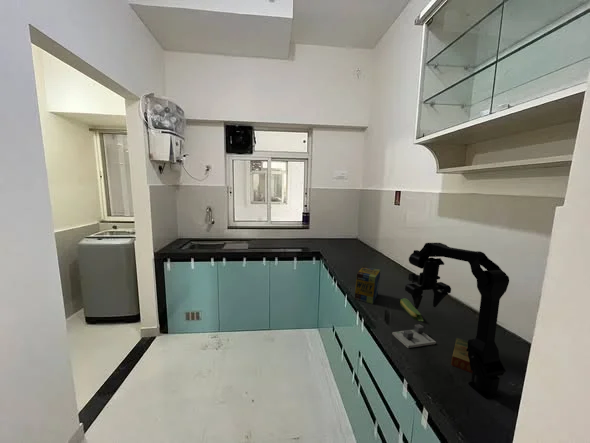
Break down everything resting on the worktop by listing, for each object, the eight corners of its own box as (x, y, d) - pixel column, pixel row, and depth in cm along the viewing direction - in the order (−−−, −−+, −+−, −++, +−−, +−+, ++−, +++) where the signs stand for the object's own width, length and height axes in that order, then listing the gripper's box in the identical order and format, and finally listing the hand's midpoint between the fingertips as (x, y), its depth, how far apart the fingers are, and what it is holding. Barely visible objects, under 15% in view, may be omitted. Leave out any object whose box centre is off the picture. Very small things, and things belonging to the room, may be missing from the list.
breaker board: (435, 343, 113) (435, 341, 113) (407, 348, 109) (408, 345, 109) (418, 330, 122) (418, 328, 122) (392, 334, 118) (392, 332, 118)
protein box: (354, 299, 152) (356, 273, 149) (360, 290, 165) (363, 266, 163) (372, 304, 147) (375, 277, 145) (378, 294, 160) (380, 269, 158)
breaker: (423, 332, 118) (424, 327, 118) (418, 333, 118) (419, 328, 117) (418, 328, 122) (419, 323, 121) (413, 329, 121) (413, 324, 120)
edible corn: (407, 297, 149) (400, 295, 148) (426, 316, 129) (418, 314, 128) (403, 305, 149) (396, 303, 149) (422, 326, 130) (413, 323, 129)
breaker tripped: (413, 338, 113) (414, 333, 113) (407, 339, 112) (408, 334, 112) (408, 334, 116) (409, 329, 116) (402, 335, 116) (403, 329, 115)
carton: (450, 365, 100) (451, 355, 99) (454, 345, 113) (455, 336, 112) (477, 376, 95) (478, 365, 95) (478, 354, 108) (479, 344, 108)
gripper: (433, 265, 121) (429, 298, 123) (398, 266, 116) (394, 300, 118) (454, 273, 110) (449, 309, 113) (417, 276, 105) (412, 313, 108)
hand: (425, 307), depth 113 cm, fingers open, 9 cm apart
